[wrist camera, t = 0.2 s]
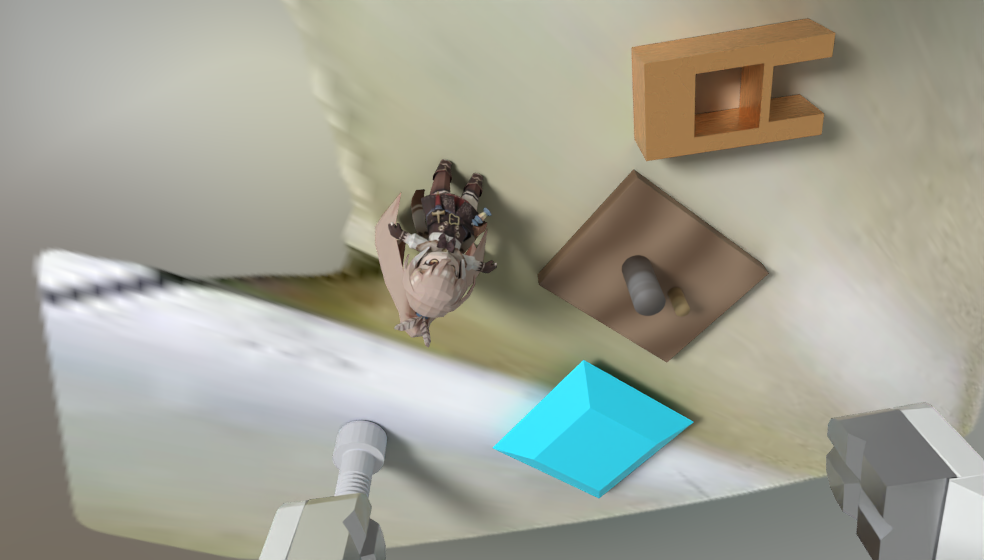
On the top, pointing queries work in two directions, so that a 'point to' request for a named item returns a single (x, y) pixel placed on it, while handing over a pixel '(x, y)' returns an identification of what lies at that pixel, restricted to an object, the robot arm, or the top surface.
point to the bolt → (358, 456)
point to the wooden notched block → (759, 119)
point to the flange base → (670, 261)
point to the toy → (433, 252)
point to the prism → (592, 431)
